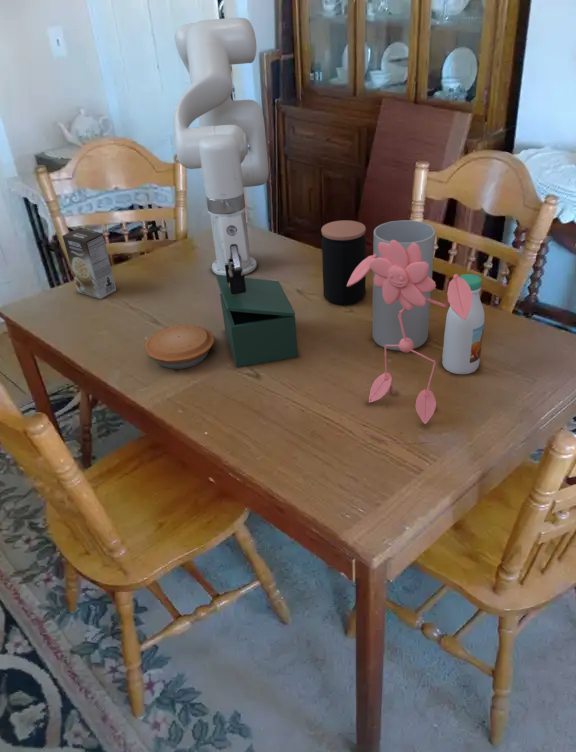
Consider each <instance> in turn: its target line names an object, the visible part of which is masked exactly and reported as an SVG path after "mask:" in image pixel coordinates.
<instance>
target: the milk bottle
mask: <svg viewBox="0 0 576 752" xmlns="http://www.w3.org/2000/svg"><path fill="white" fill-rule="evenodd" d="M459 277H460V278H463V279H464V280H465V281H466V282H467V284H468V285H469V287H470V289H471V293H472V306H471V309H470V311H469V314H468V316H467V318H466V319H465V320H464V319H462V318H461V317H460V316H459V315H457V314H456V313H455V312H454V311H453V310H452V308H451V306H449V308H448V309H447V314H446V318H445V326H444V336H443V346H442V358H441V359H442V360H441V364H442V367H443V368H444V369H445V370H446V371H447V372H449V373H452V374H455V375H456V374H457V375H468V374H471V373H474V372H475V371H477V369H479V366H480V362H481V353H482V347H483V346H482V345H483V338H484V330H485V321H486V320H485V319H486V318H485V317H486V316H485V315H486V314H485V309H484V306H483V303H482V301H481V297H480V291H481V290H482V280H483V279H482V277H481V276H479V275H477V274H473V273H465V274H464V273H463V274H461V275H459Z"/></svg>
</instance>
